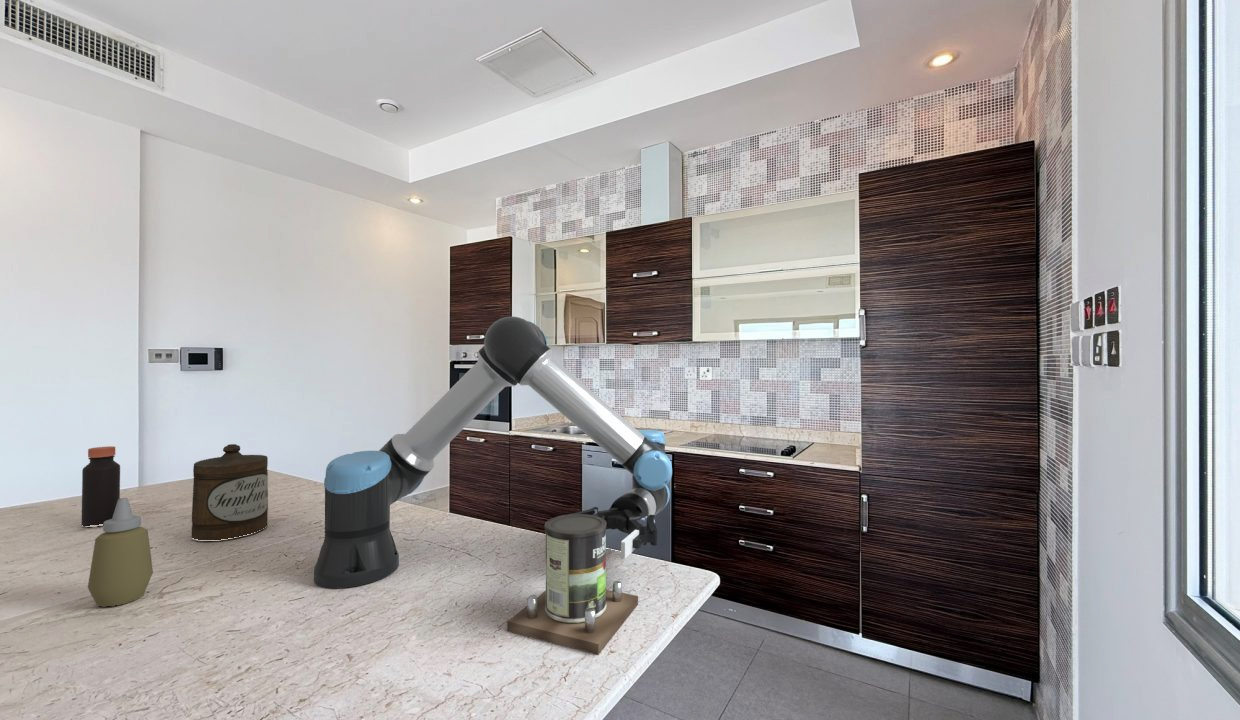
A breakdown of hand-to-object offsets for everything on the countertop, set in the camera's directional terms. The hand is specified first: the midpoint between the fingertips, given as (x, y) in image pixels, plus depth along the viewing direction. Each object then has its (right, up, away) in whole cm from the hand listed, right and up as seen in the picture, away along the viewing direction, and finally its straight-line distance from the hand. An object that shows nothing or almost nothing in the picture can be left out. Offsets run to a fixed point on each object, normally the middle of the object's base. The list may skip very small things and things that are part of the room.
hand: (586, 544), depth 83 cm
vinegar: (-131, -12, +44) cm, 138 cm away
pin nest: (-2, -11, -3) cm, 12 cm away
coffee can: (-2, -10, -2) cm, 10 cm away
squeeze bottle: (-83, -11, +3) cm, 84 cm away
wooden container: (-92, -12, +38) cm, 100 cm away
